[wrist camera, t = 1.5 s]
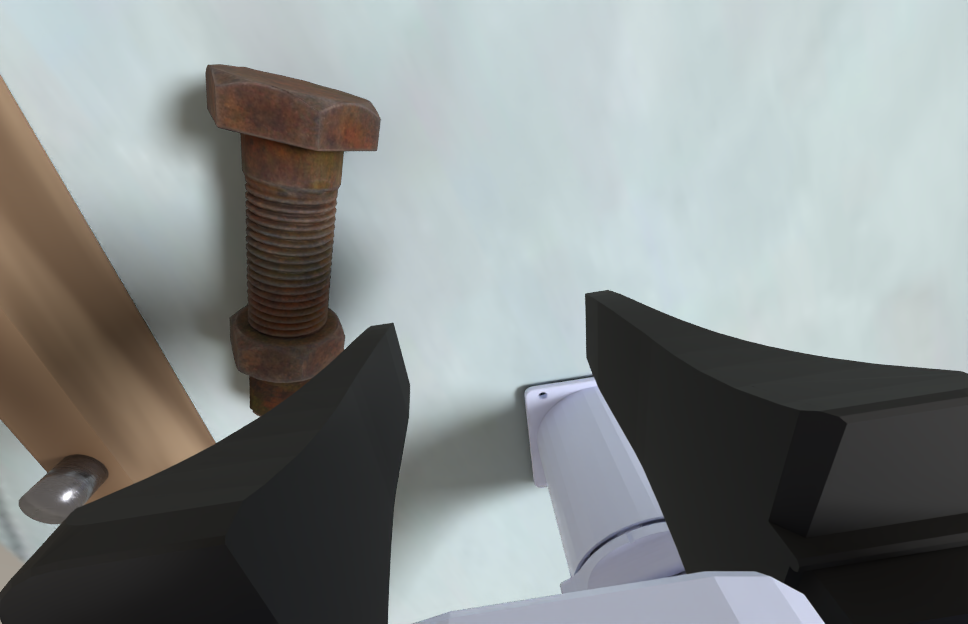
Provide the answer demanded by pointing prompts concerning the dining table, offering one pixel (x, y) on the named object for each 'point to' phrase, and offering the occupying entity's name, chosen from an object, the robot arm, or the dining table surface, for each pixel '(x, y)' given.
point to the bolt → (288, 219)
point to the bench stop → (76, 345)
